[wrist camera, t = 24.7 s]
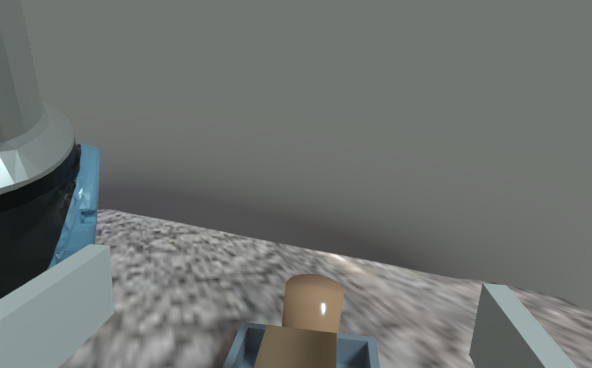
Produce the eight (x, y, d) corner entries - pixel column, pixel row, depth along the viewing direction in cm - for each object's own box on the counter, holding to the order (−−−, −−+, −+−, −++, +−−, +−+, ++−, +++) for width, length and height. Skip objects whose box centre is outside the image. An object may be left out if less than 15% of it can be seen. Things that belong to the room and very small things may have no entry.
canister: (283, 411, 33) (294, 306, 30) (271, 369, 37) (279, 275, 35) (338, 403, 34) (353, 302, 32) (320, 363, 39) (331, 272, 36)
